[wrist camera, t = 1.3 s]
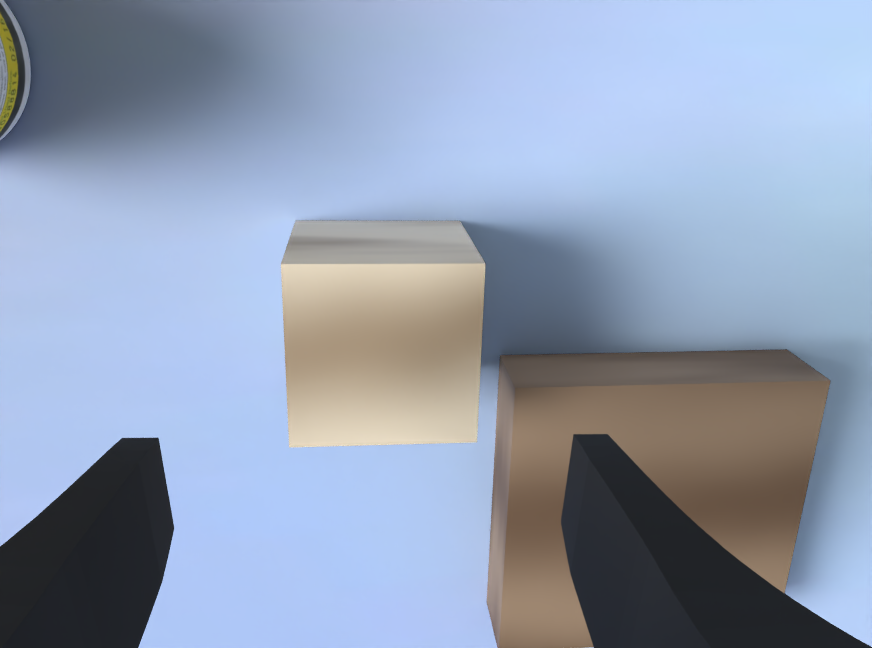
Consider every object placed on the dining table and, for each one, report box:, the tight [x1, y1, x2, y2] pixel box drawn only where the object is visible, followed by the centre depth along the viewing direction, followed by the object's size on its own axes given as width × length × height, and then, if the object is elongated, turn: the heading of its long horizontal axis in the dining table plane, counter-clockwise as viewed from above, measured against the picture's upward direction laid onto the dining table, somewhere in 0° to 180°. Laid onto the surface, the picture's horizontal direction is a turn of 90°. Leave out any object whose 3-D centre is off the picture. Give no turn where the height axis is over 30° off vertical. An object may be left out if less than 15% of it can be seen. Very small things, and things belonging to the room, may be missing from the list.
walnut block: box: [487, 350, 830, 648], centre depth 27 cm, size 10×10×3 cm
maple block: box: [281, 220, 486, 447], centre depth 22 cm, size 5×5×5 cm
